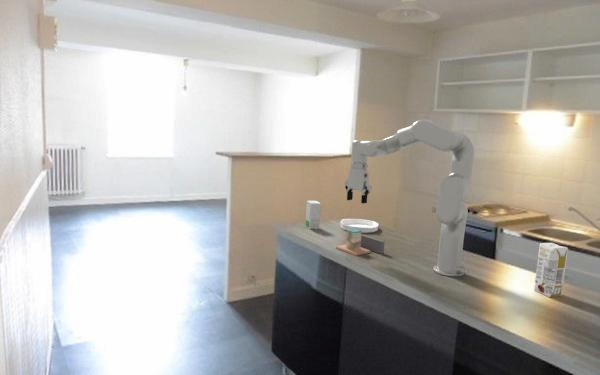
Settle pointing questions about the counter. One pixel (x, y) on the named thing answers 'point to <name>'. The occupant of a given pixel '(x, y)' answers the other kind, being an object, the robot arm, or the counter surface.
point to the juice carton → (550, 269)
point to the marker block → (353, 239)
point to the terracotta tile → (353, 252)
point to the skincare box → (313, 214)
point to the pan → (359, 225)
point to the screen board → (372, 244)
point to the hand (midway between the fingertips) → (356, 201)
